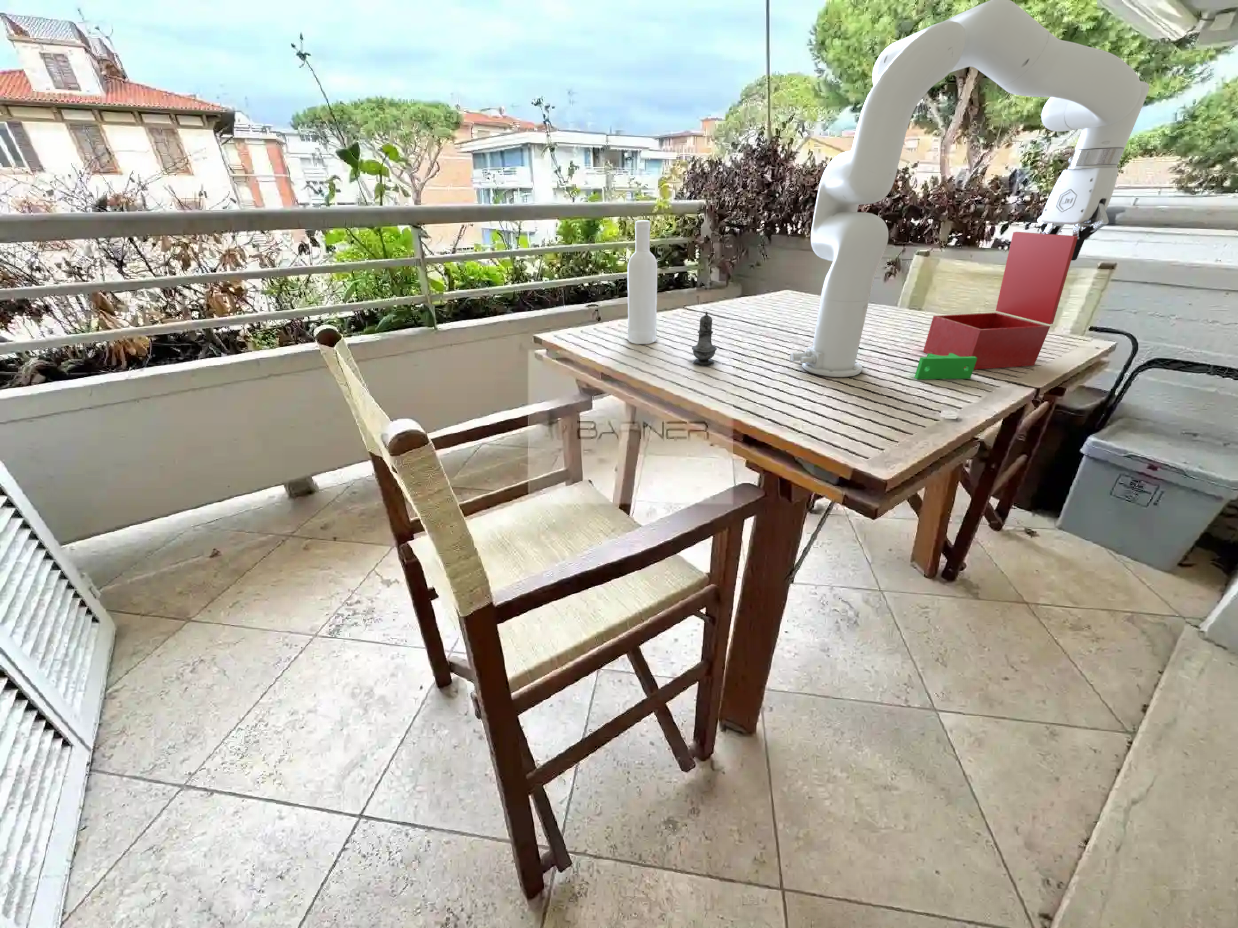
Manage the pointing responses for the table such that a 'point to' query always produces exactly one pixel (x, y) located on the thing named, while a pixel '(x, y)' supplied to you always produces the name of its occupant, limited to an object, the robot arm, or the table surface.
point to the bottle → (642, 288)
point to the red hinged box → (987, 339)
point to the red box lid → (1035, 275)
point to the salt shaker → (704, 343)
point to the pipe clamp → (945, 367)
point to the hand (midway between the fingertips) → (1056, 258)
